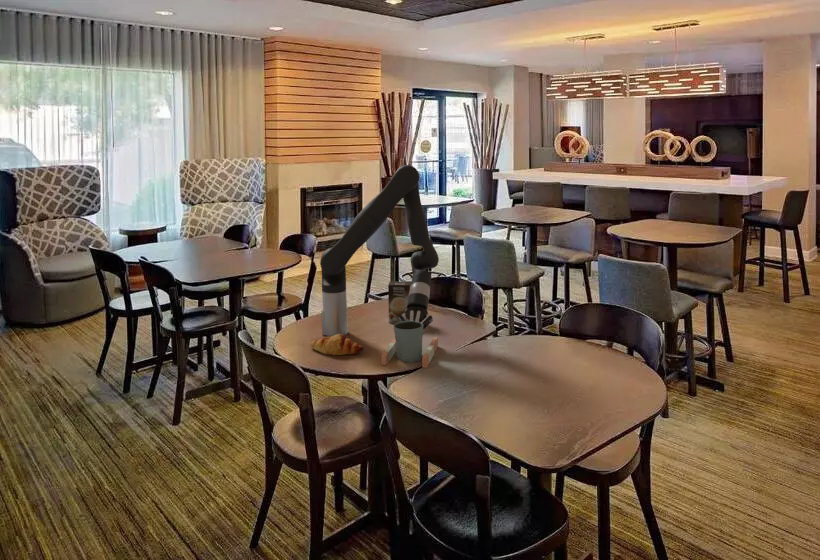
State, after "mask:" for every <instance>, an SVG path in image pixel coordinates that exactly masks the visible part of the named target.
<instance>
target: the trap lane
mask: <svg viewBox="0 0 820 560" xmlns="http://www.w3.org/2000/svg"><path fill="white" fill-rule="evenodd" d="M437 347H439V337H438V336H433V338H432V339H431V342H430V343H429V344H428V347H427V349H426V350H425V352H424V354H422V358H421V362H422V363H421V364H422V368H424V369H425V368H426V369H427V368H428V367H429V365H430V363H431V361H432V359H433V357H434V355H435V353H436V352H437V349H438V348H437ZM396 350H397V349H396V339H395V337H394V338H393V339H392V340H391V342H390V343H389V345H388V346H387V347H386V349H385V350H384V352H383V353H382V354H381V366H387V365H388V364H389V362H390V361H391V359H392V358H393V356H394V355H395V354H396V353H397V351H396ZM387 363H388V364H387Z"/></svg>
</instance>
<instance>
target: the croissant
mask: <svg viewBox="0 0 820 560" xmlns="http://www.w3.org/2000/svg"><path fill="white" fill-rule="evenodd" d="M309 344H310V347H311V348H312V349H314V350H315V351H317V352H319V353H322V354H325V355H331V354H332V355H331V356H343V355H346V354H348V355H349V356H350V355H356V354H358V353H360V352H362V351H363V350H364V346H363V345H362V344H361V345H360V344H359V343H357V342H353V341H352V340H351V338H349V337H346V335H342V334H338V335H334V336H332V337H331V336H324V337H322V338H317V339H315V340H311V342H310V343H309Z"/></svg>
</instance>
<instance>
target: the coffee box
mask: <svg viewBox="0 0 820 560" xmlns="http://www.w3.org/2000/svg"><path fill="white" fill-rule="evenodd" d="M411 283H412V281H389V283H388V286H387V287H388V288H387V291H388V296H387V297H388V299H387V300H388V324H396V323H398V322H401V321H400V319H399V316H398V315H399V314H401V315H402V314H403V313H405V310H406V309H407V303H408V297H409V291H410V287H411ZM405 318H406V319H405V321H409V320H408V318H407V317H405Z"/></svg>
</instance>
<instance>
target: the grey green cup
mask: <svg viewBox="0 0 820 560" xmlns="http://www.w3.org/2000/svg"><path fill="white" fill-rule="evenodd" d="M393 332H394V338H395V339H396V349H397V351H396V356H397V357H396V359H397V360H398V361H400V362H403V363H404V362H405V363H413V362H418V361H420V360H422V357H423V339H424V338H423V337H424V330H423V323H422V322H418V321H402V322H398V323H393Z"/></svg>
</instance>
